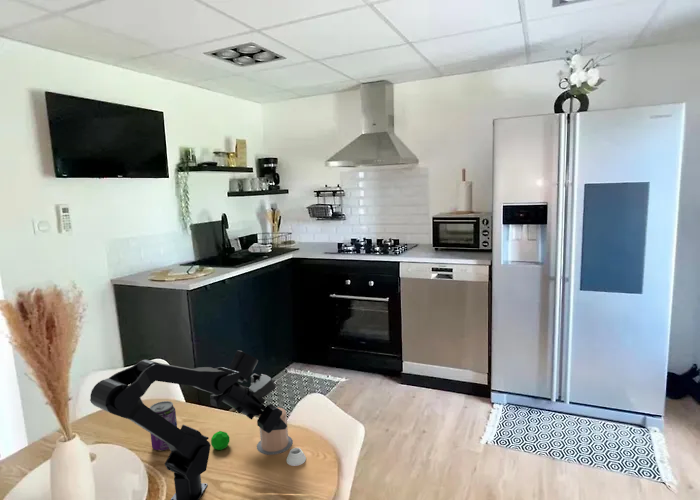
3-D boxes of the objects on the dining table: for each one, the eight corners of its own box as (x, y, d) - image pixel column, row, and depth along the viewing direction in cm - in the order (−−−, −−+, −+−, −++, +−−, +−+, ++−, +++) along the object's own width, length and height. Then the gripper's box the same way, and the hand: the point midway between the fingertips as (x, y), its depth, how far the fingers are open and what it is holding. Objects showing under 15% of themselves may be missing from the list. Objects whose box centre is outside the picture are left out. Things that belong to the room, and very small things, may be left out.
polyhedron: (207, 451, 122) (206, 435, 122) (220, 442, 127) (218, 426, 126) (221, 455, 120) (220, 438, 119) (233, 445, 124) (232, 429, 124)
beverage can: (169, 453, 122) (164, 412, 120) (146, 451, 123) (142, 411, 122) (183, 439, 129) (179, 400, 127) (162, 437, 130) (158, 399, 129)
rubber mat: (287, 455, 118) (287, 454, 118) (252, 455, 119) (251, 454, 119) (296, 435, 128) (296, 434, 128) (263, 435, 129) (262, 434, 129)
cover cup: (284, 451, 119) (282, 420, 118) (258, 451, 120) (255, 420, 119) (290, 436, 127) (288, 407, 126) (265, 436, 128) (263, 407, 126)
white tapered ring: (284, 458, 117) (289, 469, 113) (284, 448, 117) (288, 458, 112) (302, 454, 119) (308, 464, 114) (302, 443, 119) (307, 453, 114)
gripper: (272, 380, 111) (311, 406, 119) (240, 360, 125) (277, 385, 134) (246, 420, 107) (288, 445, 115) (216, 395, 122) (256, 419, 130)
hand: (277, 421), depth 124 cm, fingers open, 9 cm apart
